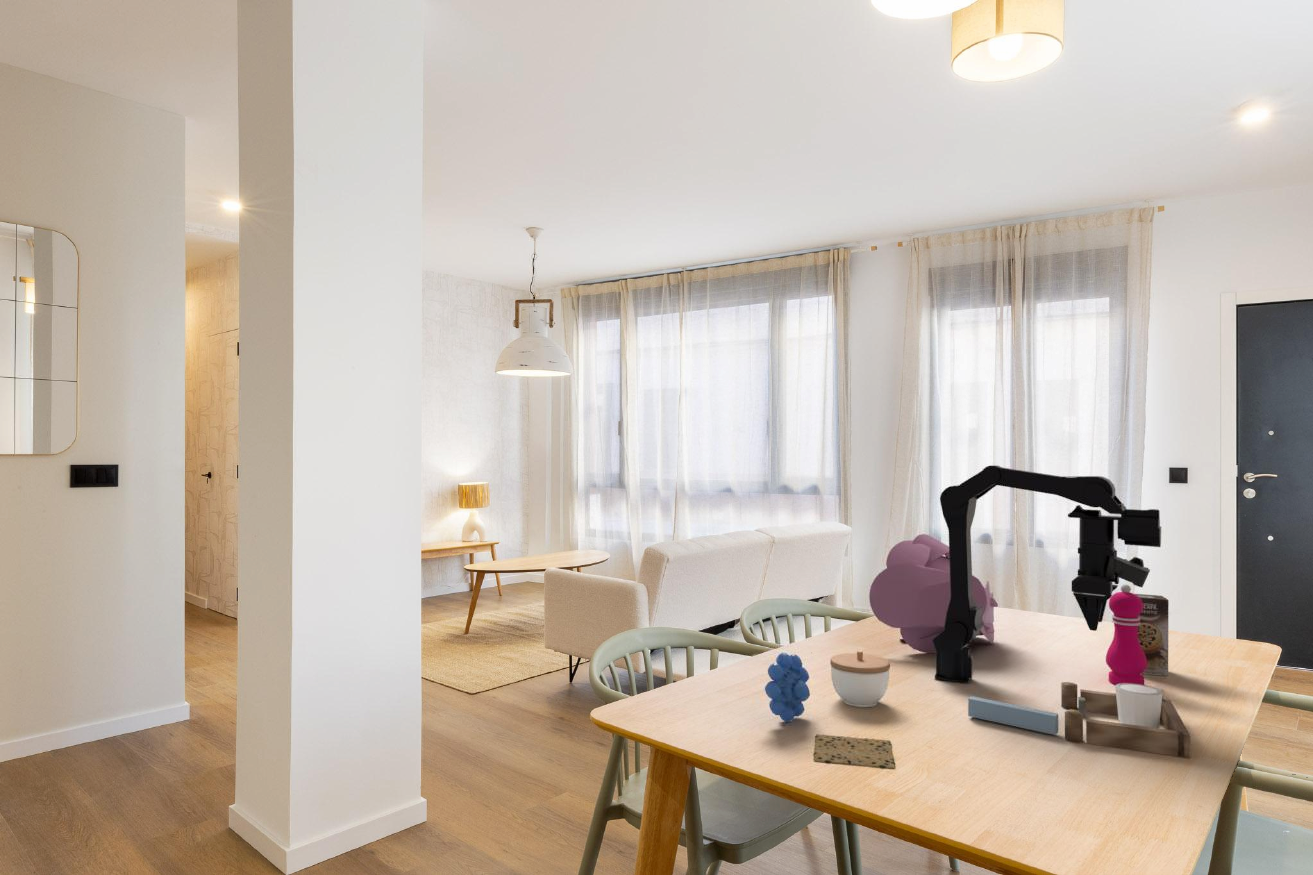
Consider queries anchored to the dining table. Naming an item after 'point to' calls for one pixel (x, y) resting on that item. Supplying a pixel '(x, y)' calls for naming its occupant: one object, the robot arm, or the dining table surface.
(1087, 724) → the fence
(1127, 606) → the pepper mill
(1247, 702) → the dining table surface
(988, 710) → the gate
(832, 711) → the dining table surface
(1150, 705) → the white cup
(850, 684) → the lidded jar
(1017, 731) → the dining table surface
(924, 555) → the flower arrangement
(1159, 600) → the dark tall box
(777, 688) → the grapes
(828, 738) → the cookie
